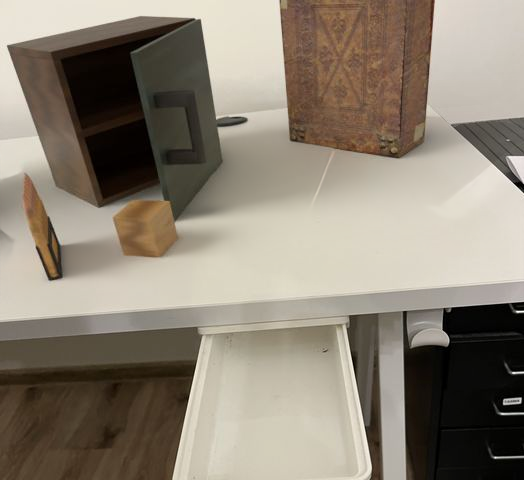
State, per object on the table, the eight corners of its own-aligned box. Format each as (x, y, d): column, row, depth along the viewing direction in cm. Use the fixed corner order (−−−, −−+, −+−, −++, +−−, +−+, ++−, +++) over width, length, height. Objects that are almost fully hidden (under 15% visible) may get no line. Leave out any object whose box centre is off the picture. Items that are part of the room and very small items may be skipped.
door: (251, 160, 105) (234, 15, 91) (209, 221, 86) (178, 48, 71) (218, 161, 107) (195, 19, 92) (168, 221, 87) (129, 52, 73)
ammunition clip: (62, 277, 77) (30, 195, 69) (48, 280, 76) (15, 199, 69) (60, 246, 85) (31, 169, 78) (48, 248, 85) (18, 172, 77)
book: (289, 141, 112) (275, -37, 94) (315, 127, 118) (307, -43, 99) (399, 158, 98) (409, -47, 80) (424, 142, 103) (438, -55, 85)
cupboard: (218, 161, 108) (195, 18, 93) (99, 208, 95) (50, 51, 80) (168, 145, 119) (140, 15, 104) (55, 186, 107) (6, 45, 92)
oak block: (123, 255, 80) (112, 217, 76) (143, 236, 84) (133, 199, 81) (160, 258, 78) (150, 219, 74) (178, 238, 82) (169, 200, 79)
